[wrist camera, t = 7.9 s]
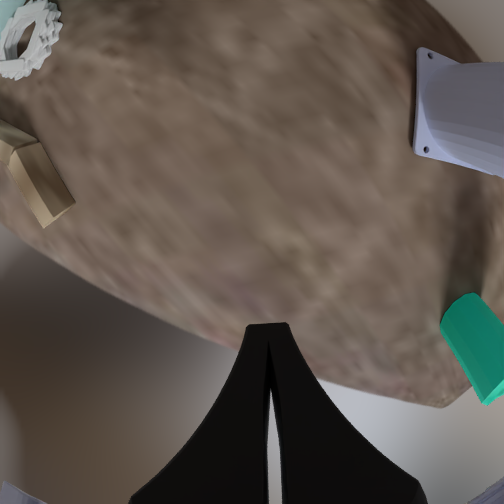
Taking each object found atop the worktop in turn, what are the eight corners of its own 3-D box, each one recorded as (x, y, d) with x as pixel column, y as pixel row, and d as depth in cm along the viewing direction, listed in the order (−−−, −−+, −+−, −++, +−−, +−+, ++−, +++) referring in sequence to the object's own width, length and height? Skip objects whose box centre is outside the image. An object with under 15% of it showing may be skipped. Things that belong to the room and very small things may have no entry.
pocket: (220, -53, 9) (215, -74, 6) (72, 217, 18) (50, 233, 15) (41, -59, 4) (25, -67, 1) (-46, 136, 13) (-64, 143, 10)
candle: (443, 303, 22) (503, 395, 11) (484, 284, 21) (546, 360, 11) (436, 342, 25) (480, 426, 14) (474, 324, 24) (522, 397, 13)
